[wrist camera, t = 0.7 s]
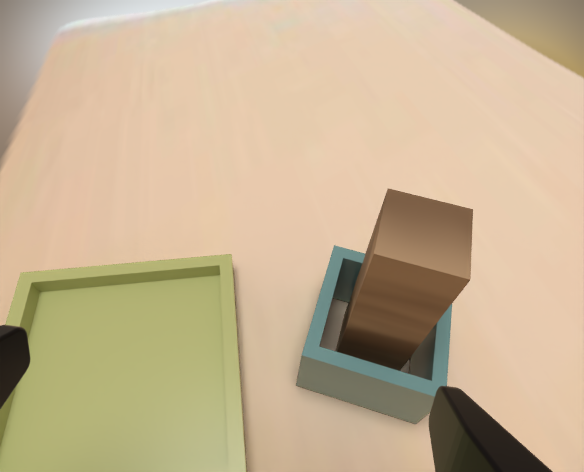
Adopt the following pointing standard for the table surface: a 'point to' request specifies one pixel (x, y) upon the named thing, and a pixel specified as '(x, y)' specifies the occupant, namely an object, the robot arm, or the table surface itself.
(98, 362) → the olive tray
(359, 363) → the teal open box
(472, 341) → the table surface
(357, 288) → the walnut stick
